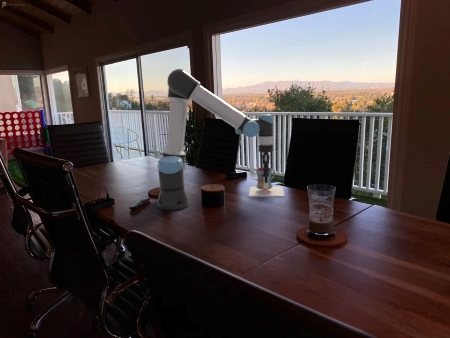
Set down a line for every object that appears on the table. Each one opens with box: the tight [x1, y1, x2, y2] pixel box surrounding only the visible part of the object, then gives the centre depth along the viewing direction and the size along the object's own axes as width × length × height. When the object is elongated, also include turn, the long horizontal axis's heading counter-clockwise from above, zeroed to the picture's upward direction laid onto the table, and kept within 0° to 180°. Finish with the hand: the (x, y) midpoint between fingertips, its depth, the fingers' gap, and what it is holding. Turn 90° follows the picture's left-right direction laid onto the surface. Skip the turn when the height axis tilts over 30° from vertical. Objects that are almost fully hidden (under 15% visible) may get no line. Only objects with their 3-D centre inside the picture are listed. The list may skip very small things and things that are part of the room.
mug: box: [255, 167, 276, 190], centre depth 172 cm, size 12×9×11 cm
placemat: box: [248, 185, 285, 198], centre depth 173 cm, size 18×18×1 cm
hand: (266, 186), depth 172 cm, fingers closed on mug, 8 cm apart
